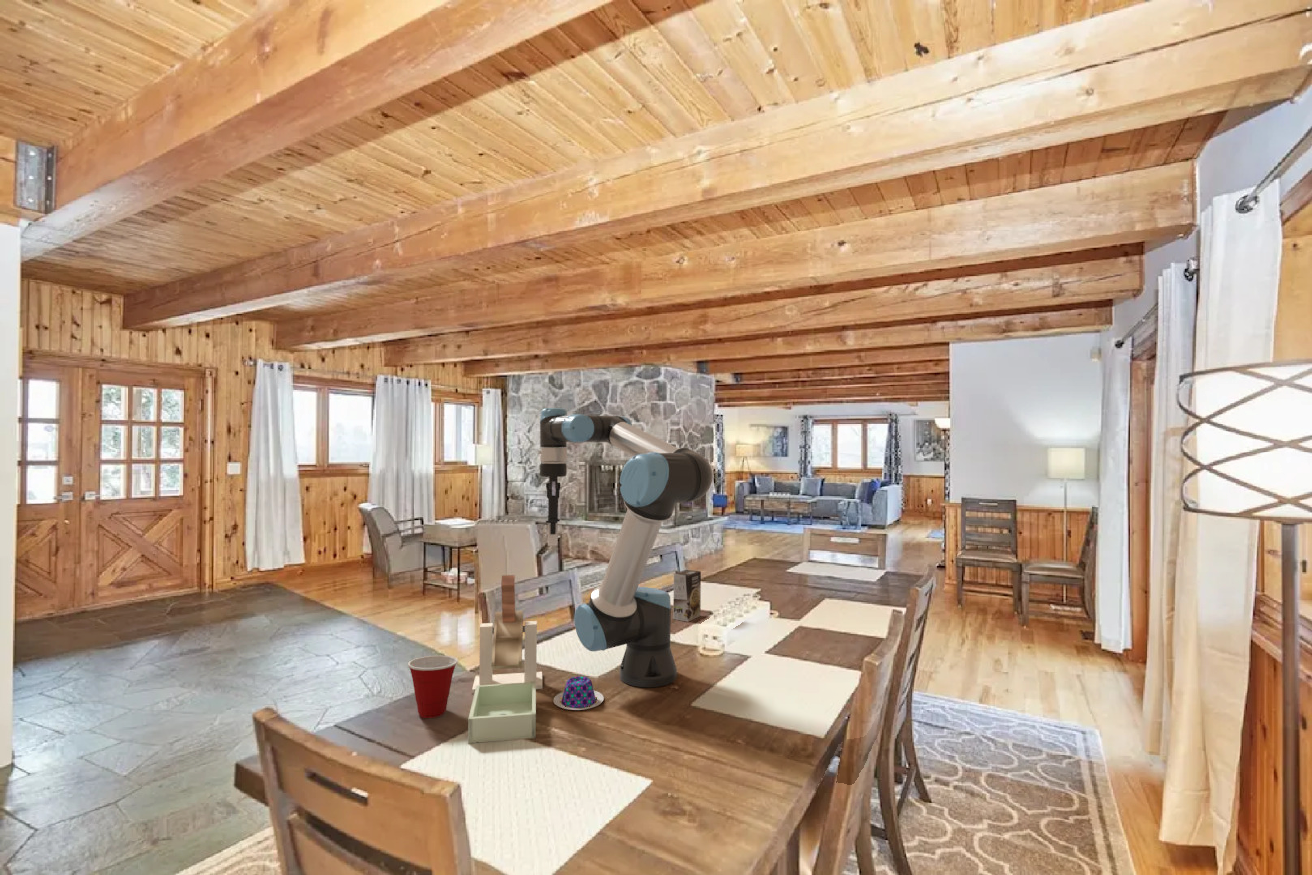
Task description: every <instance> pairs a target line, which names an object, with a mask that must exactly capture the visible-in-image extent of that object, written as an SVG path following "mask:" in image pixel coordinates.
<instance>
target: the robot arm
mask: <svg viewBox="0 0 1312 875" xmlns="http://www.w3.org/2000/svg"><path fill="white" fill-rule="evenodd" d="M539 431H540V432H539V435H540V436H539V440H540V441H539V446H540V448H539V449H540V450H538V451H537V454H538V455H539V461H540V462H541V463H540V464H539V476H540V477H545V478H547V477H548V482H546V483H545V488H546V498H547V499H548V501H547V502H548V503H547V505H548V506H547V508H548V509H547V510H548V512H547V520H545V523H546V524H547V546H549V547H555V546H557V547H558V544H559V542H558V534H559V533H558V532H559V531H558V529H559V526H558V524H559V522H561V521H560V520H561V519H559V518H558V517H559V499H560V490H561V483H560V482H558V481H559V480H558V478H559V477H561V478H562V477H566V476H567V473H568V472H567V468H568V467H567V463H565V462H567V461H568V446H567V445H568V443H575V444H576V443H607V444H609V445H611V446H612V447H615V448H617V449H619V450H620V451H622V452H623V453H625V454H627V455H629V456H631V457H630V459H629V460H627V462H626V463H625V465H624V466H623V468H622V471H621V473H620V479H619V483H620V484H621V486H620V487H619V490H620V494H621V497H622V499H623V504H624V506H625V507H626V509H627V510H626V513H625V516H624V518H623V522H622V524H621V527H620V530H619V533H618V535H617V539H616V541H615V545H614V547H613V550H612V553H611V556H610V558H609V562H608V565H607V567H606V570H605V573H604V577H603V579H602V581H601V585H599V586H597V587H595V588H594V589H593V590H592V592H591V595H590V597H589V601H588V602H587V603H581V604H579V605H578V606H577V607H576V609H575V610H574V620H573V621H574V628H575V632H576V635H577V638H578V640H579V641H580V643H581V644H582V646H583V647H584V648H585V650H588V651H589V652H599V651H600V652H601V651H606V650H609V649H612V648H616V647H620V646H624V645H626V647H625V651H624V654H623V657H622V659H621V663H620V667H619V679H620V681H622V682H623V683H625V684H626V685H629V686H631V687H639V688H657V687H658V688H659V687H663V686H667V685H670V684H672V683H673V682H675V681H676V679H677V678H678V677H677V675H678V669H677V665H676V663H675V659H674V655H673V651H672V649H671V624H672V623H671V619H672V616H671V615H672V614H671V613H672V606H671V595H670V594H669V593H668V592H667V591H665V590H663V589H660V588H659V589H658V588H654V587H648V586H647V587H646V586H639V585H640V583H641V580H642V577H643V575H644V572H645V569H646V566H647V564H648V561H649V558H650V555H651V553H652V550H653V547H654V545H655V543H656V539H657V537H658V535H659V532H660V529H661V526H662V523H663V522H666V521H668V520H670V519H671V518H672V515H673V512H674V510H675V507H676V505H677V504H683V503H684V504H685V503H693V502H695V501H697V500H699V499H701V498H703V497H704V496H705V495H706V494H707V493H708V491H710V488H711V486H712V484H713V483H712V482H713V470H712V467H711V464H710V462H709V461H708V460H707V459H706V458H705V457H704V456H703V455H701V453H698V452H696V451H694V450H691V448H687V447H679V448H678V447H676V446H675V445H672V444H670V443H668V442H666V441H665V440H663V439H660V438H658V437H656V436H654V435H652V434H650V433H648V432H646V431H643V430H642V429H639V428H638V427H636V426H634V425H633V424H632V422H631V420H630V419H629V418H628V417H625V416H620V415H594V414H593V415H592V414H583V413H573V414H568V412H567V410H566V408H557V407H556V408H553V407H551V408H543V409H541V411H540V420H539Z"/></svg>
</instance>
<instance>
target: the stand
mask: <svg viewBox="0 0 1312 875" xmlns="http://www.w3.org/2000/svg"><path fill="white" fill-rule="evenodd" d="M537 628H538V621H537V620H531V621H530V620H529V621H528V620H527V621H524V625H523V633H524V660H523V661H524V665H523V667H524V672H514V673H513V672H512V673H499V674H493V671H494V669H492V668H491V665H492V650H493V636H494V622H488V623H487V622H486V623H483V622H482V623H480V626H479V672H478V673H479V675H475V676H474V681H473V684H472V689H471V694H474V693H475V689H476V686H479V685H494V684H510V683H525V682H536V690H543V671H537V663H538V661H537V657H538V656H537V651H538V650H537V649H538V648H537V646H538V645H537V642H538V641H537V640H538V637H537V636H538V633H537V632H538V629H537Z"/></svg>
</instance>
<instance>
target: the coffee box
mask: <svg viewBox="0 0 1312 875" xmlns="http://www.w3.org/2000/svg"><path fill="white" fill-rule="evenodd" d="M701 574H702V571H700V570H691V569H685V570H682V571H678V572H674V573H673V601H672V602H673V609H672V610H673V612H672V614H673V615H672V619H673V620H676V621H681V622H686V623H688V622H691V621H693V620H695V619H697V618H699V617H701V610H702V609H701V607H702V606H701V604H702V603H701V601H702V600H701V598H702V597H701V595H702V594H701V592H702V591H701V590H702V589H701V588H702V586H701V585H702V583H701V582H702V575H701Z"/></svg>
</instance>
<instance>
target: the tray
mask: <svg viewBox="0 0 1312 875" xmlns="http://www.w3.org/2000/svg"><path fill="white" fill-rule="evenodd" d="M536 691H537V689H536V682H525V683H510V684H494V685H479V686H476V689H475V693H473V698H472V702H471V707H470V710H469V716H468V717H467V718H468V719H467V722H468V725H467V744H477V743H476V742H479V743H489V742H488V741H492V742H500V741H503V742H504V741H515V740H524V739H525V740H526V739H535V738H536V735H537V733H536V731H537V730H536V727H537V726H536V725H537V724H536V723H537V722H536V720H537V712H536V710H537V706H536V704H537V697H536V696H537V692H536ZM501 714H507V715H501Z"/></svg>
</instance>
